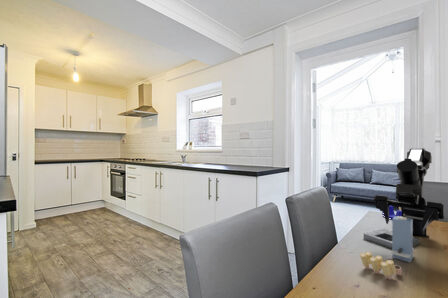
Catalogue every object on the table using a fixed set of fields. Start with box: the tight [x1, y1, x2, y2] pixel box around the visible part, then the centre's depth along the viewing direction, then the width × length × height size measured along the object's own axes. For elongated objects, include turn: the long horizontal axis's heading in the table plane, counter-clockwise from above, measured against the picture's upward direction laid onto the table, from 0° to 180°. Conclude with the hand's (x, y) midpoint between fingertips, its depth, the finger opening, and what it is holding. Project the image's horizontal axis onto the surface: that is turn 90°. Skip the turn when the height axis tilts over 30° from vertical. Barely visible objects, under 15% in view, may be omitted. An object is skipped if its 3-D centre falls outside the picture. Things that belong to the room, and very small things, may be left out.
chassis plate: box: [363, 228, 420, 250], centre depth 86 cm, size 14×12×2 cm
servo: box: [390, 216, 414, 263], centre depth 72 cm, size 10×4×13 cm, turn 133°
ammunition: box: [359, 251, 403, 280], centre depth 63 cm, size 5×7×8 cm
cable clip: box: [381, 206, 402, 220], centre depth 115 cm, size 12×4×6 cm, turn 169°
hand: (403, 226), depth 74 cm, fingers open, 9 cm apart
